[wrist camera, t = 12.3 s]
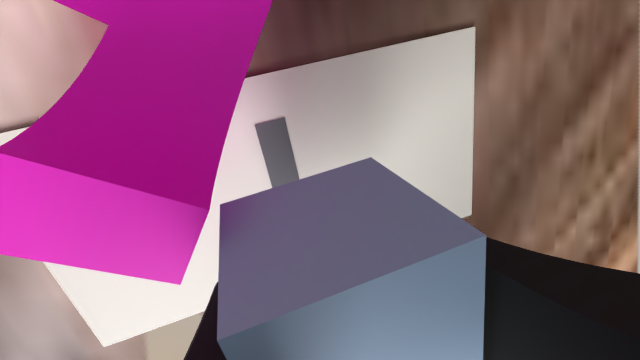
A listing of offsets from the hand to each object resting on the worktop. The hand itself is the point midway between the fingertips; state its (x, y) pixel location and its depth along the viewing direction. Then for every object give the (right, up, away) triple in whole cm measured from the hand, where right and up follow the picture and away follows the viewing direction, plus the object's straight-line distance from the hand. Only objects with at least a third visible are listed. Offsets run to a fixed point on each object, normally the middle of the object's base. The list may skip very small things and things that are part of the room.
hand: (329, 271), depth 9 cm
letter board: (-2, +2, +6) cm, 7 cm away
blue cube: (0, +1, +1) cm, 2 cm away
